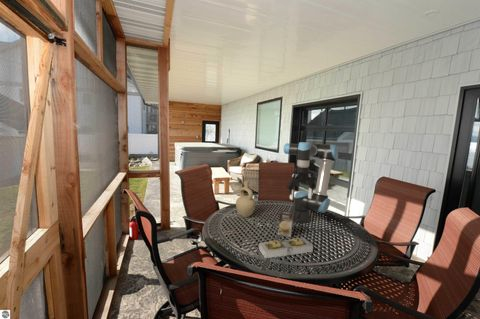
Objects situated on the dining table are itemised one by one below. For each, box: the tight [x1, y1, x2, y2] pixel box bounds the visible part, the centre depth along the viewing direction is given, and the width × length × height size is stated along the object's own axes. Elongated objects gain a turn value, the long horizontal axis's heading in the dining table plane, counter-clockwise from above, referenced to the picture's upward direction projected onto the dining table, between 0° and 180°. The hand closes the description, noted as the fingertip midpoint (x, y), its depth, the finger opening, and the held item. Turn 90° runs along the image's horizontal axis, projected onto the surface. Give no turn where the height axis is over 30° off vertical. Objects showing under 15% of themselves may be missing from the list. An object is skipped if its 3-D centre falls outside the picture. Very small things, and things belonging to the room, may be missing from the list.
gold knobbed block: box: [290, 237, 303, 247], centre depth 139 cm, size 5×5×6 cm
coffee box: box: [277, 209, 294, 238], centre depth 158 cm, size 9×6×16 cm
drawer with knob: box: [268, 240, 281, 249], centre depth 135 cm, size 5×5×6 cm
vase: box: [235, 180, 257, 218], centre depth 189 cm, size 17×17×30 cm
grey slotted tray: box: [258, 237, 314, 259], centre depth 137 cm, size 31×10×4 cm, turn 107°
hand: (300, 198), depth 147 cm, fingers open, 13 cm apart
